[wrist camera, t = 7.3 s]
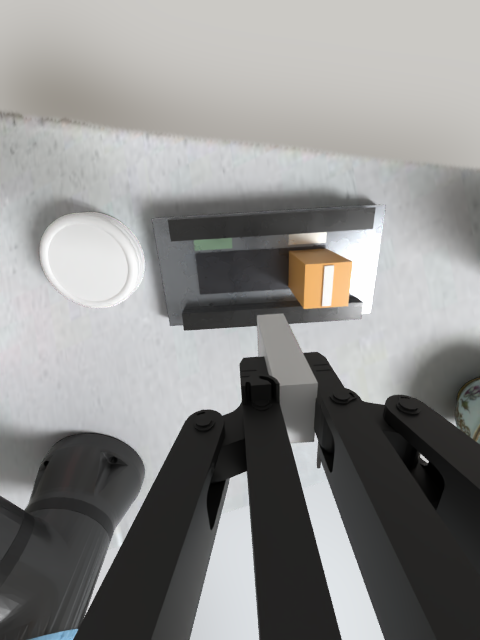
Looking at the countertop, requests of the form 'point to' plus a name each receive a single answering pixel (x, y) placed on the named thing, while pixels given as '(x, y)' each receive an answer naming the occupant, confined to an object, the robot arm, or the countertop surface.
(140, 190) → the countertop surface
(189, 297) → the panel
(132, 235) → the coaster
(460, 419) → the bowl
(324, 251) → the lever
